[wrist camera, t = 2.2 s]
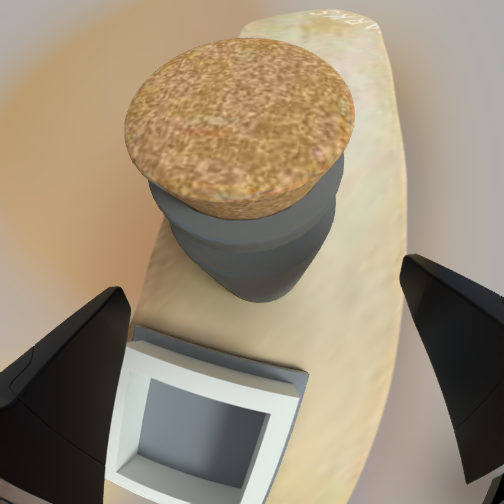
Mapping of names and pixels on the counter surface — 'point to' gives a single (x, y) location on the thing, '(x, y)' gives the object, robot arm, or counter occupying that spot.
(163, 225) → the counter surface
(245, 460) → the holder
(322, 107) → the bottle
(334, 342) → the counter surface
